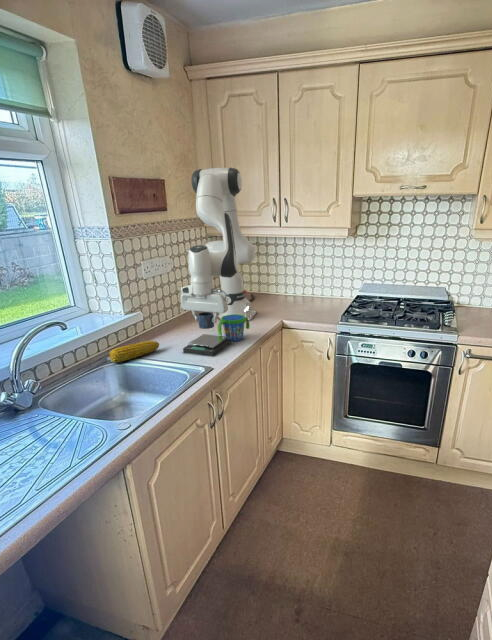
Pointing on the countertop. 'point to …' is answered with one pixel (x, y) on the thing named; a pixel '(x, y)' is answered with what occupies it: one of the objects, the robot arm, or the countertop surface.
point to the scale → (207, 349)
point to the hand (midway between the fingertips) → (206, 321)
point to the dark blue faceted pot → (205, 320)
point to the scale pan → (207, 341)
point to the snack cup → (233, 326)
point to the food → (132, 351)
